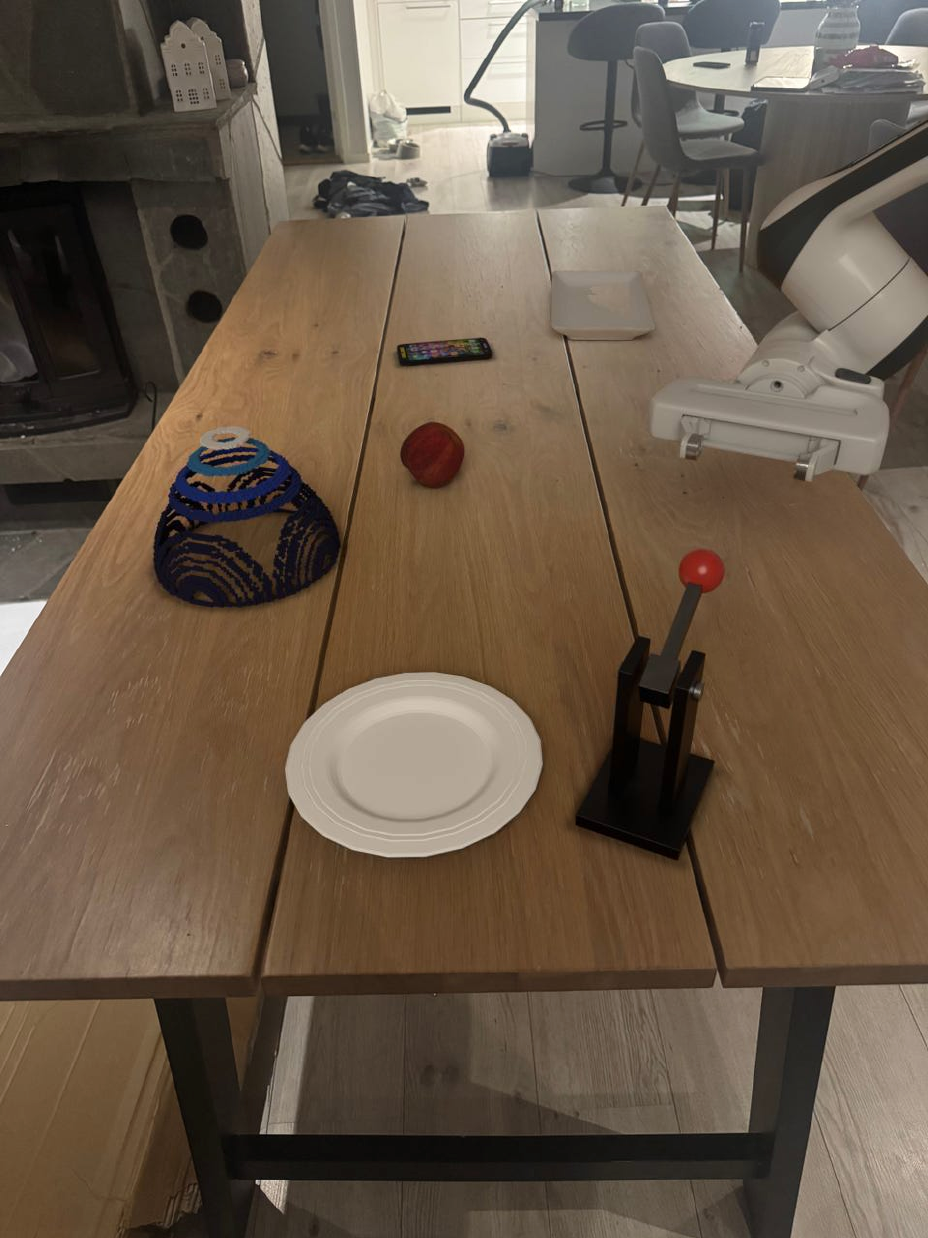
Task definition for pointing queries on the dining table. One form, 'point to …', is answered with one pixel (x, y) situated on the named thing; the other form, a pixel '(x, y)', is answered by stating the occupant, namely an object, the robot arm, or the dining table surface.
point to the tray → (591, 320)
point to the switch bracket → (650, 765)
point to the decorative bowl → (262, 489)
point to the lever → (680, 626)
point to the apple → (433, 454)
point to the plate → (414, 765)
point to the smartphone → (444, 351)
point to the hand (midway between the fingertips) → (744, 462)
